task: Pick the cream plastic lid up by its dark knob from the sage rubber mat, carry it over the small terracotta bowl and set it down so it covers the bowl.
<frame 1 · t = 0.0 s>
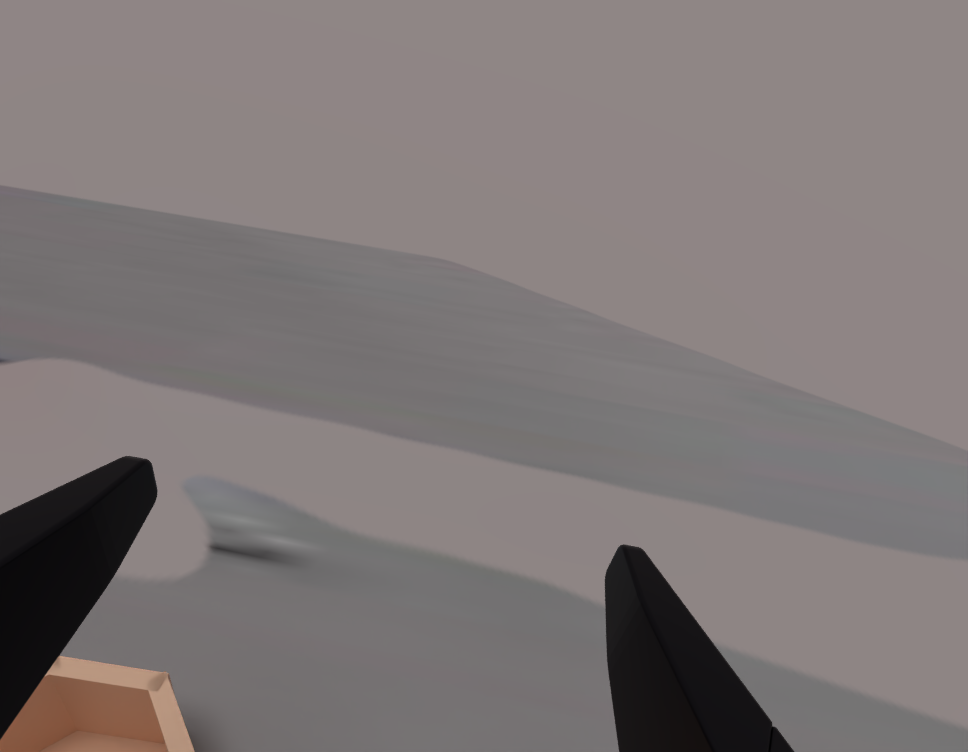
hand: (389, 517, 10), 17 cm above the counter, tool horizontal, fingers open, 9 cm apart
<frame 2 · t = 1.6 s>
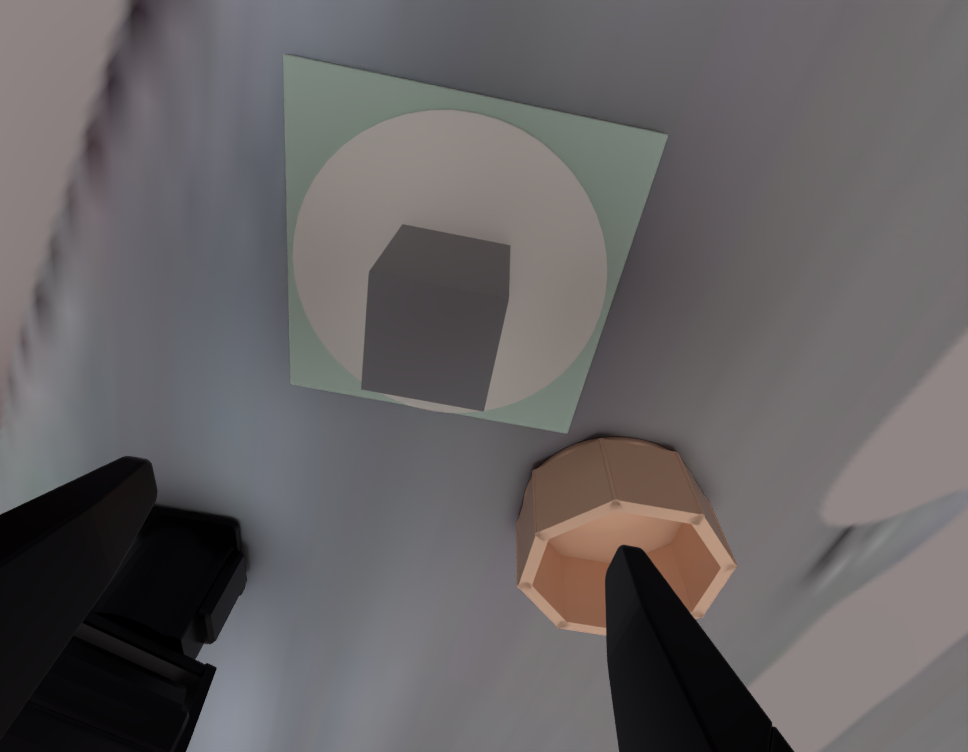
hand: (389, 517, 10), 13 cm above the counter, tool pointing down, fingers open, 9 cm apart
lid: (451, 278, 20), point 1 cm above the counter, touching mat
bowl: (608, 504, 27), on the counter
mat: (452, 273, 21), on the counter
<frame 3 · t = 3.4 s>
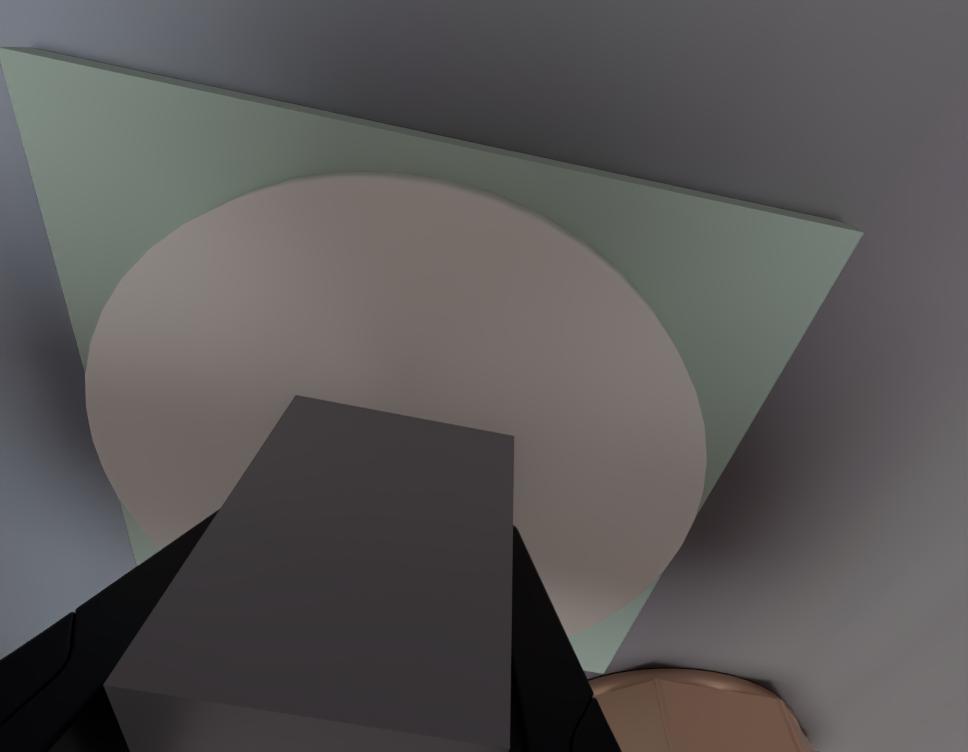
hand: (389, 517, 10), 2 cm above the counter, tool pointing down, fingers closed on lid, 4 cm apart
lid: (403, 466, 11), point 1 cm above the counter, touching gripper, mat
bowl: (658, 739, 18), on the counter
mat: (408, 449, 12), on the counter
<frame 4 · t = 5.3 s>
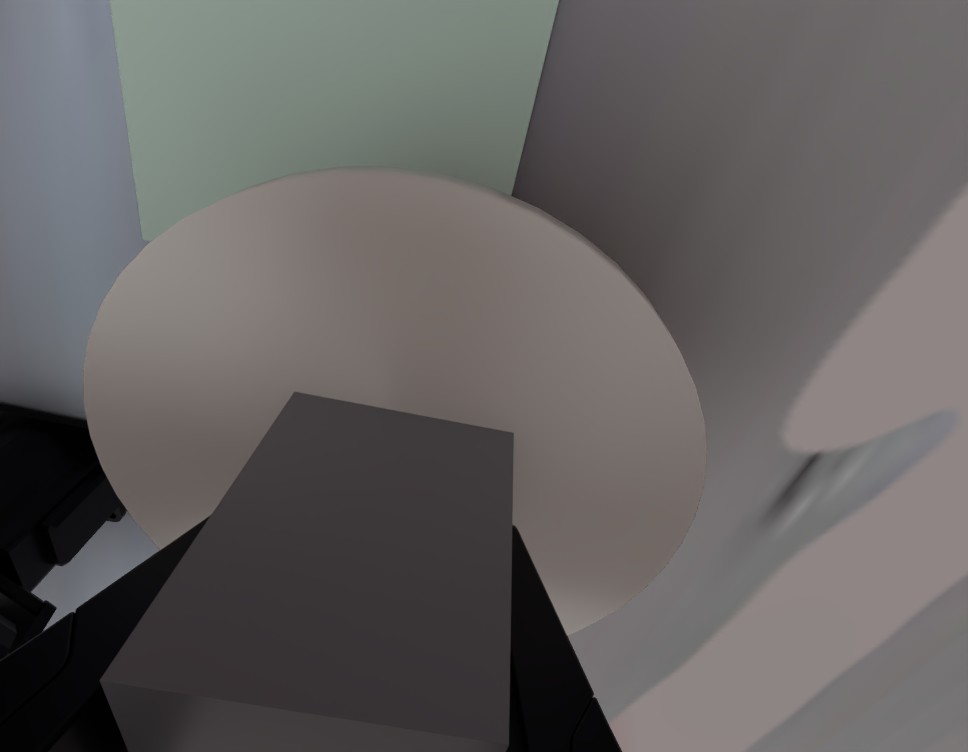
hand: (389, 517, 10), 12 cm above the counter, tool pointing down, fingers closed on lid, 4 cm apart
lid: (402, 464, 11), point 11 cm above the counter, touching gripper
mat: (331, 88, 17), on the counter
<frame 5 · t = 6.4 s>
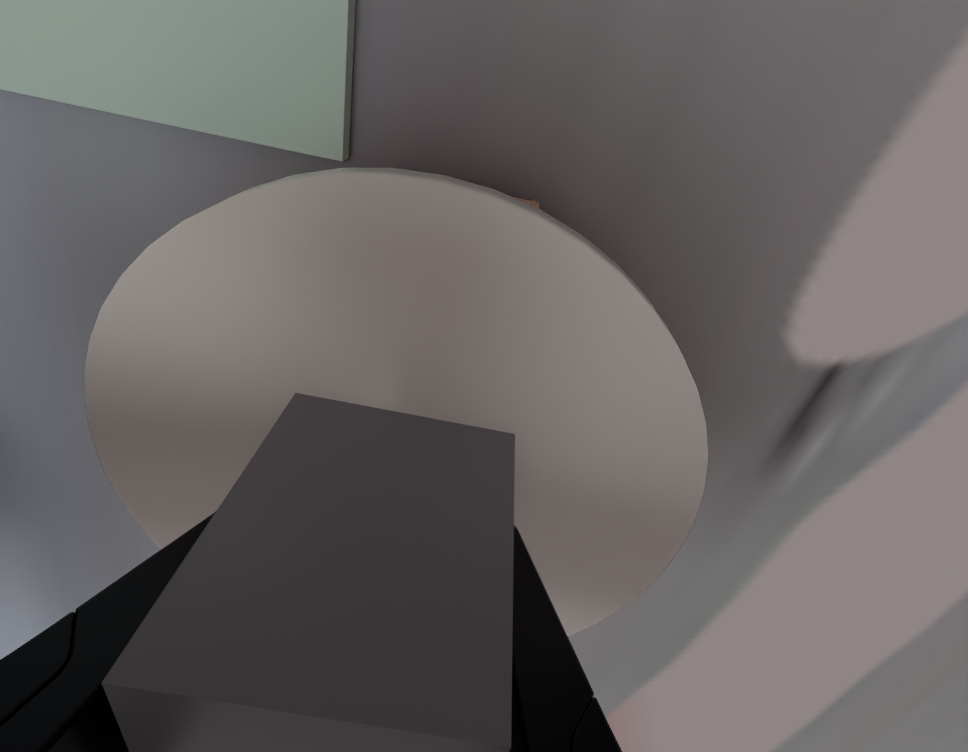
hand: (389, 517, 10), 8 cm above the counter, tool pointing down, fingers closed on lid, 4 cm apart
lid: (403, 465, 11), point 7 cm above the counter, touching gripper
when the fingers open (7 cm above the counter, at t = 7.3 s): lid drops 2 cm, resting on bowl.
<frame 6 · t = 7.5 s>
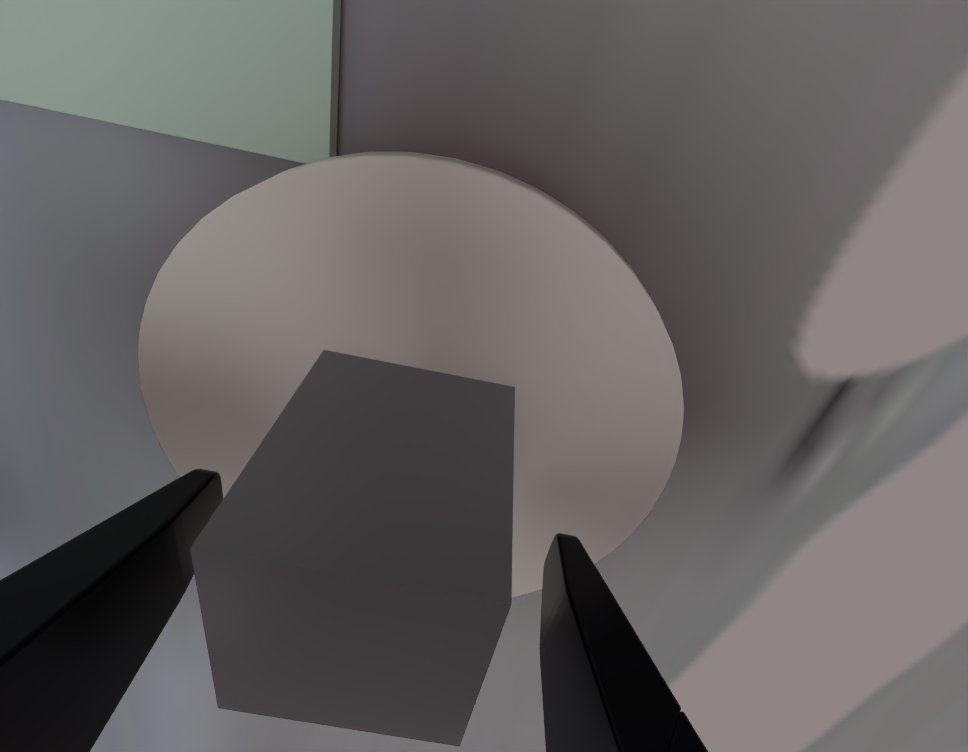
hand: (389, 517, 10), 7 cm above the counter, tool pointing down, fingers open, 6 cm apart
lid: (415, 421, 12), point 4 cm above the counter, touching bowl
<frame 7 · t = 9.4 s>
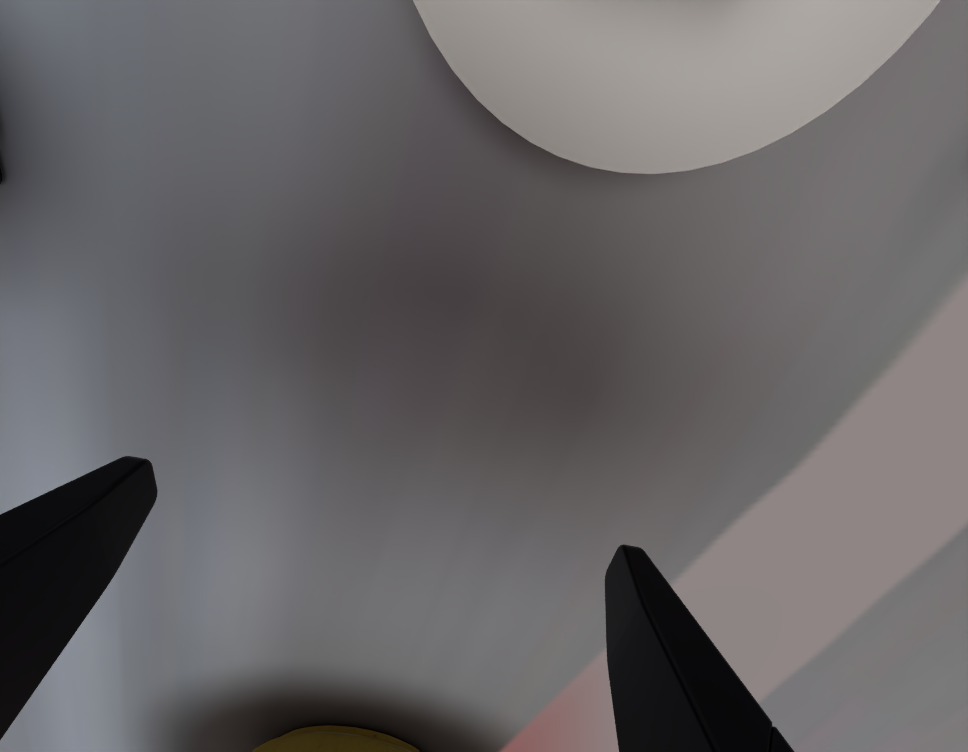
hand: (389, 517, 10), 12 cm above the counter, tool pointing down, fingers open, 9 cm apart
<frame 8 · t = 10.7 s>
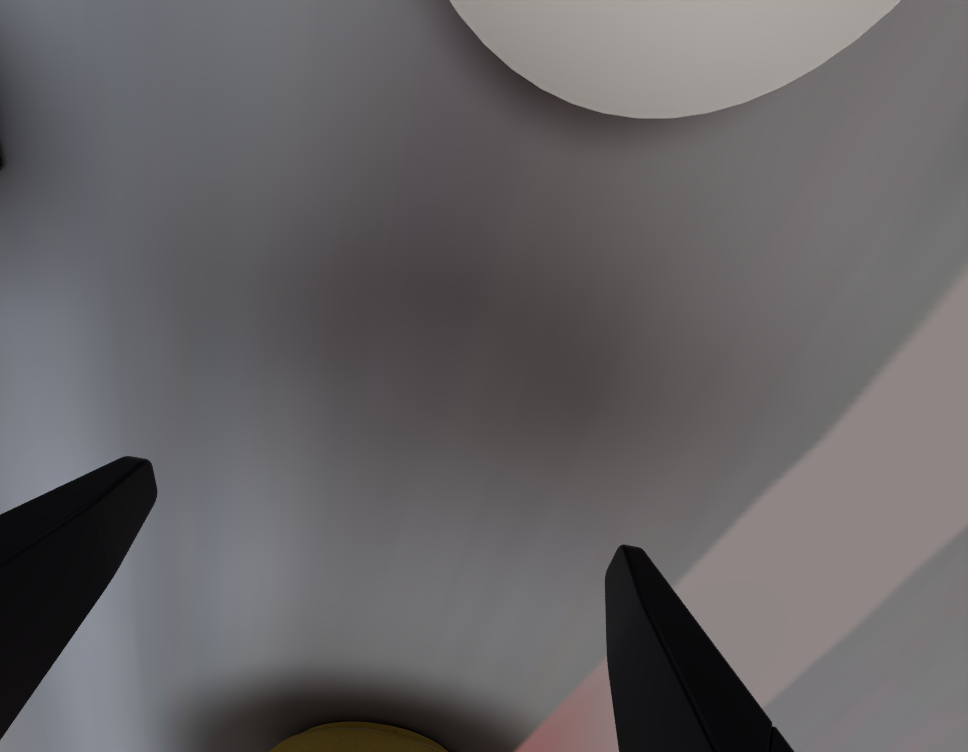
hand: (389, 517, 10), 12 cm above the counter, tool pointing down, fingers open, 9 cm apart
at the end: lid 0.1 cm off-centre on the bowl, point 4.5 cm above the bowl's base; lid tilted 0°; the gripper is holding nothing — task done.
